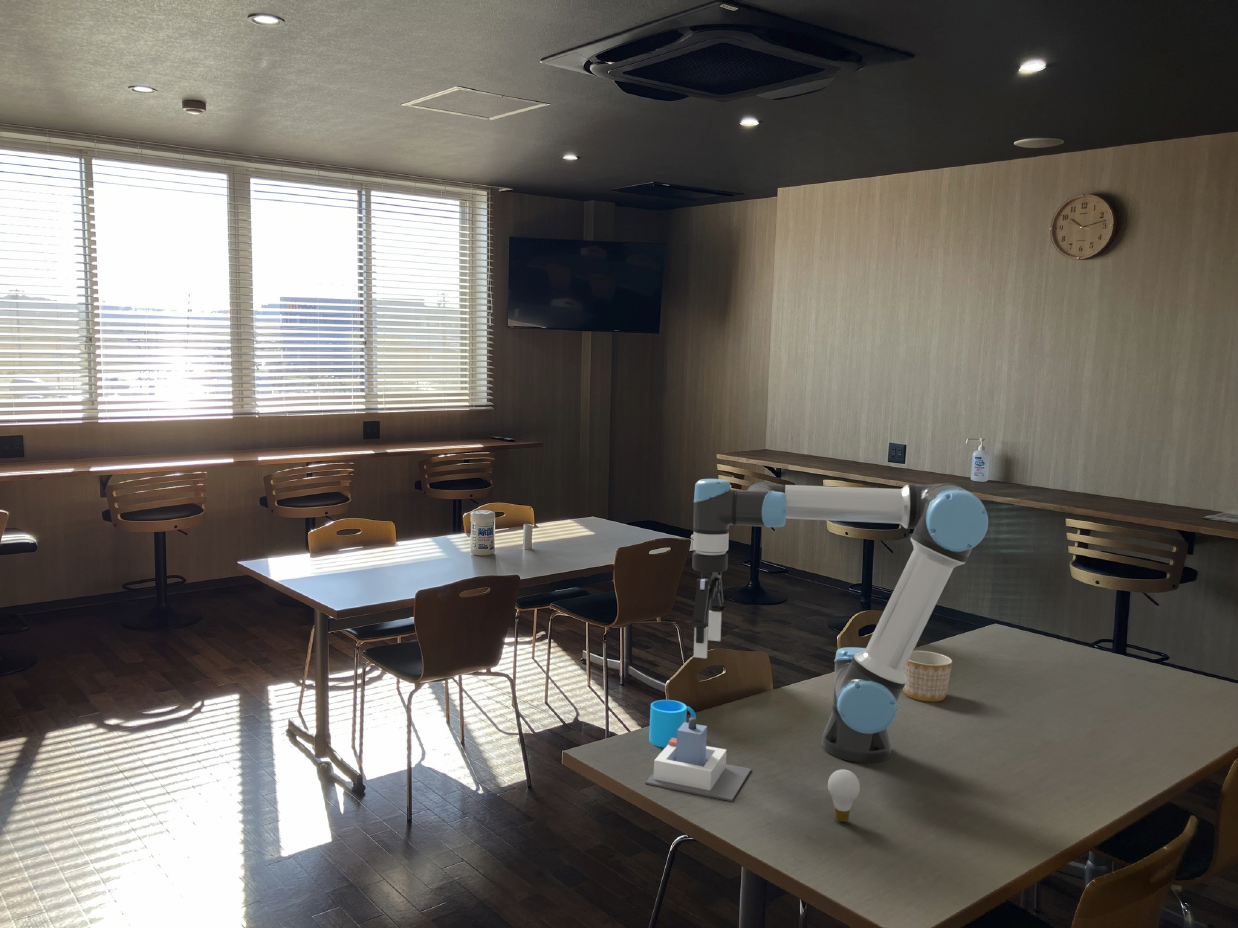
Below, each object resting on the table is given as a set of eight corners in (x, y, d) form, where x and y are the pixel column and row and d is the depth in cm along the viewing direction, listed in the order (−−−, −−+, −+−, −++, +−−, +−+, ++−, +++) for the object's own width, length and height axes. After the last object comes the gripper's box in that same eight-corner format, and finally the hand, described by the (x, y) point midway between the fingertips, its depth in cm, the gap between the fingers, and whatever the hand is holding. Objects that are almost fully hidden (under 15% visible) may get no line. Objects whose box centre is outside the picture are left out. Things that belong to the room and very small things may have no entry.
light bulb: (821, 814, 183) (824, 763, 182) (851, 814, 184) (854, 764, 183) (831, 828, 177) (834, 777, 176) (861, 828, 178) (865, 777, 177)
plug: (705, 762, 200) (707, 716, 199) (698, 772, 195) (701, 724, 194) (682, 758, 201) (684, 712, 200) (675, 767, 197) (677, 720, 196)
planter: (954, 694, 256) (957, 656, 255) (942, 707, 245) (945, 668, 244) (907, 684, 263) (909, 647, 262) (893, 696, 252) (896, 658, 251)
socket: (750, 770, 202) (752, 746, 201) (731, 801, 187) (733, 775, 186) (670, 754, 208) (671, 731, 208) (645, 783, 193) (646, 758, 193)
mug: (663, 750, 210) (665, 714, 210) (642, 738, 217) (643, 703, 216) (705, 740, 217) (707, 705, 216) (683, 728, 224) (685, 694, 223)
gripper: (706, 540, 217) (703, 631, 219) (678, 560, 193) (676, 662, 195) (738, 543, 214) (735, 635, 217) (715, 563, 191) (712, 667, 193)
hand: (707, 648), depth 206 cm, fingers open, 13 cm apart
